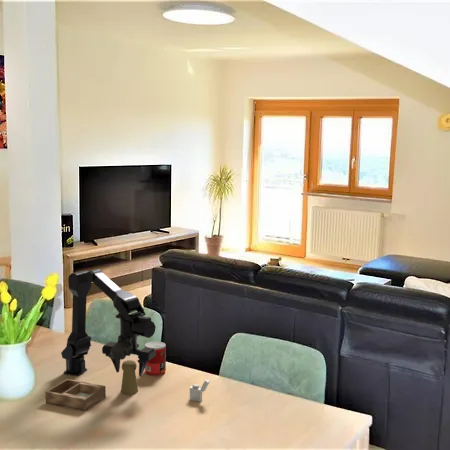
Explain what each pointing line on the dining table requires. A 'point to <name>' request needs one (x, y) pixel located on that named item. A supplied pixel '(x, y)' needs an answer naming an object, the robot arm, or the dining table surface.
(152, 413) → the dining table surface
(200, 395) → the lighter
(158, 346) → the canned food
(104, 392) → the socket box
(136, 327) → the robot arm
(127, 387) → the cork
